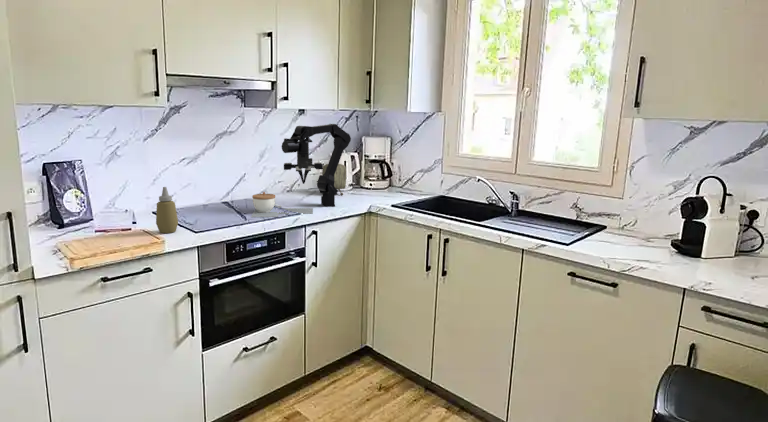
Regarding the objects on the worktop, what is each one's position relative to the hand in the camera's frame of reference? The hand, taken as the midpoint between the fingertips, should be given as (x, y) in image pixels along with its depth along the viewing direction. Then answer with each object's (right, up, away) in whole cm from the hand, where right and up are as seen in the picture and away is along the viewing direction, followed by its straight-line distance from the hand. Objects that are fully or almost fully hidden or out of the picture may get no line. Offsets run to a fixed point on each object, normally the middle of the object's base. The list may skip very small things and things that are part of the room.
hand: (303, 183), depth 244 cm
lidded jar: (-18, -14, -5) cm, 23 cm away
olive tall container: (+10, -4, +47) cm, 48 cm away
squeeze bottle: (-46, -22, -47) cm, 70 cm away
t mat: (-9, -14, -4) cm, 17 cm away
